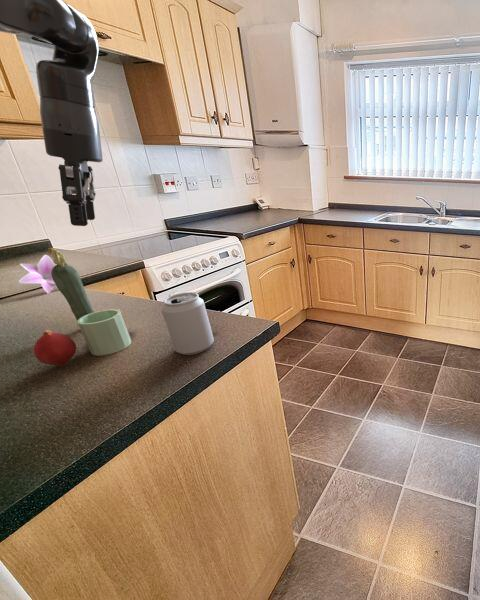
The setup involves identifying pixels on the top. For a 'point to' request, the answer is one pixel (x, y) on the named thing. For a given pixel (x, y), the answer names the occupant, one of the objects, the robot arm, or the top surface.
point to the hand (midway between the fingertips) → (84, 222)
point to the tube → (104, 332)
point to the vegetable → (70, 285)
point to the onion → (54, 348)
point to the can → (187, 323)
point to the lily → (40, 273)
